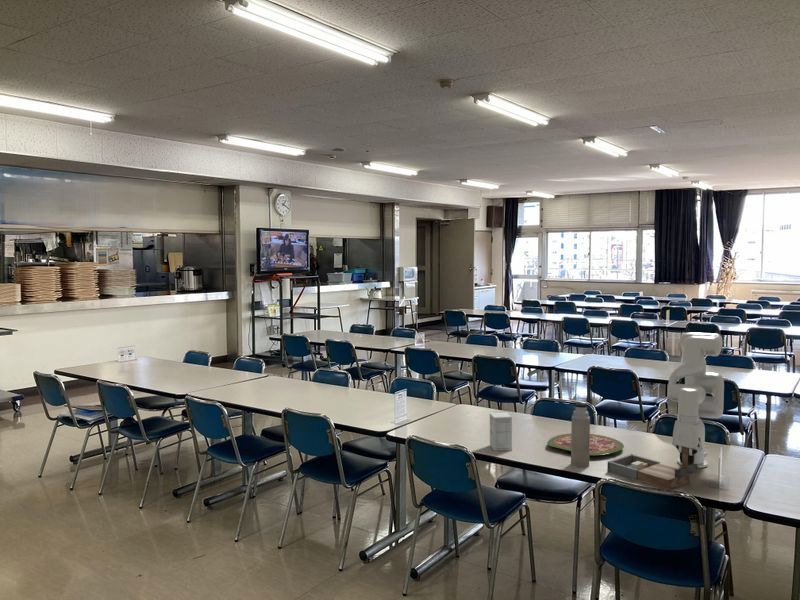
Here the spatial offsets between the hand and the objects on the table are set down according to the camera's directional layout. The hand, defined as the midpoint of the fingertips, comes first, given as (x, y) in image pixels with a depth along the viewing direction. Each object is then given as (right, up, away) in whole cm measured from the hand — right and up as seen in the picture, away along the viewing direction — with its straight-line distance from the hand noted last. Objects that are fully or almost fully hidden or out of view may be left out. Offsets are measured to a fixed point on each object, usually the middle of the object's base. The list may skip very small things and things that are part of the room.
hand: (686, 462), depth 255 cm
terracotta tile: (-11, -6, +21) cm, 25 cm away
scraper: (0, -5, 0) cm, 5 cm away
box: (-14, -9, +20) cm, 26 cm away
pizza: (-24, -7, +56) cm, 62 cm away
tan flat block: (-6, -10, +9) cm, 14 cm away
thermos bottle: (-35, -9, +30) cm, 47 cm away
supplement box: (-67, -7, +55) cm, 87 cm away
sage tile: (-14, -6, +13) cm, 20 cm away
